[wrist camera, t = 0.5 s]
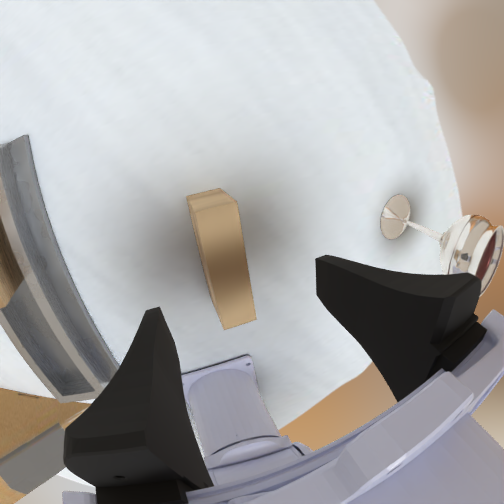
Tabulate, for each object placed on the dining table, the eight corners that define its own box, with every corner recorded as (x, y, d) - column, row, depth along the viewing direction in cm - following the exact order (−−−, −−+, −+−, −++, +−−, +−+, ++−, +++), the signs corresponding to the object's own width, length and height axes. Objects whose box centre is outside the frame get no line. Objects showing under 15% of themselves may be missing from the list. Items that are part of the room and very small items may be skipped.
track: (123, 373, 22) (124, 417, 18) (53, 385, 20) (46, 425, 16) (28, 134, 12) (-10, 137, 8) (-47, 181, 10) (-85, 197, 6)
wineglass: (394, 173, 24) (499, 209, 13) (422, 205, 27) (507, 243, 17) (364, 232, 25) (463, 291, 15) (395, 255, 28) (477, 307, 18)
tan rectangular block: (237, 288, 23) (256, 319, 19) (210, 296, 22) (224, 330, 18) (219, 187, 19) (237, 201, 15) (186, 195, 19) (195, 212, 15)
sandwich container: (108, 437, 26) (121, 537, 13) (12, 422, 20) (4, 510, 7) (95, 402, 23) (101, 526, 10) (-13, 382, 17) (-35, 483, 4)
